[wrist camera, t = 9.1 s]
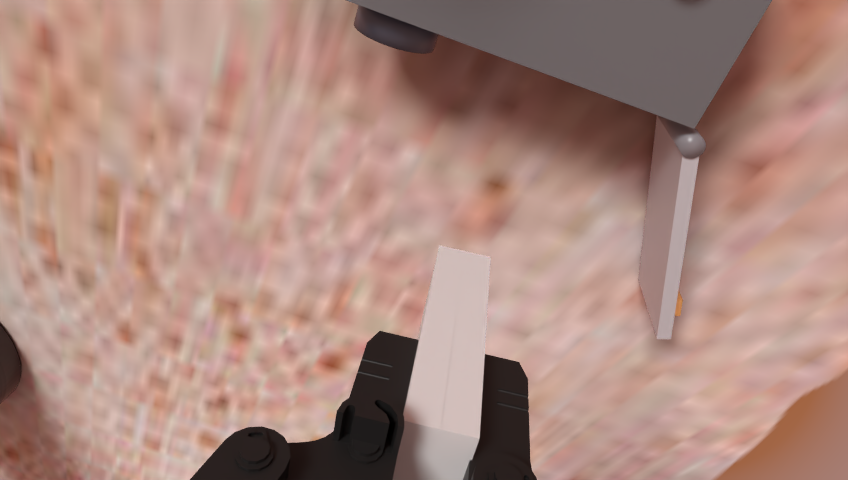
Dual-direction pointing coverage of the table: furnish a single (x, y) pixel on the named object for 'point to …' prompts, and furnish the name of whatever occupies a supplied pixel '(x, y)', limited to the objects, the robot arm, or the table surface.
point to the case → (588, 42)
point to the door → (668, 220)
